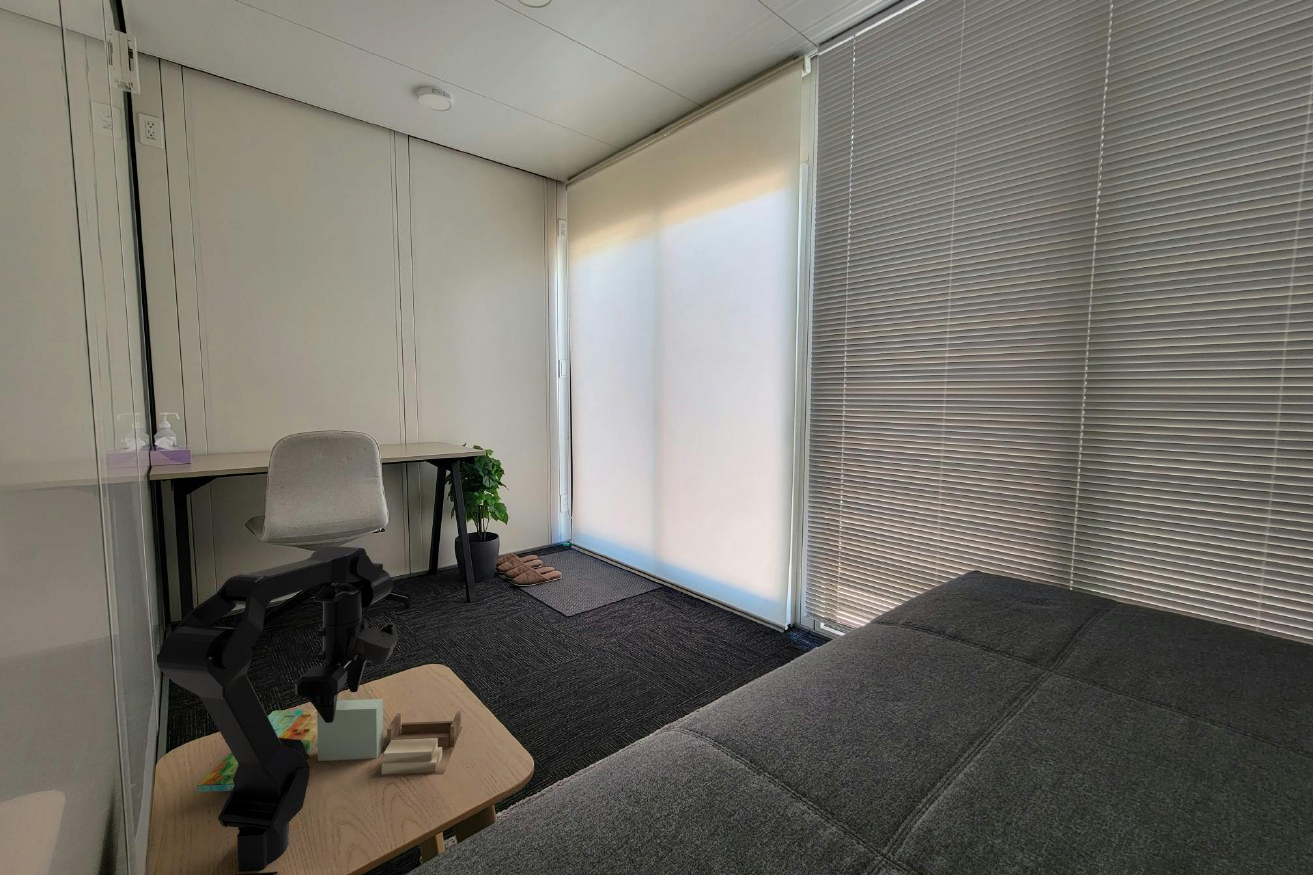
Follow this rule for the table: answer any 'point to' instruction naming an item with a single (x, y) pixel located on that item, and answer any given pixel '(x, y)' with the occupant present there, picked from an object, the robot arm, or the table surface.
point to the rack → (422, 730)
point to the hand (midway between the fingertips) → (342, 706)
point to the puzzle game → (285, 726)
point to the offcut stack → (412, 756)
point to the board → (352, 731)
